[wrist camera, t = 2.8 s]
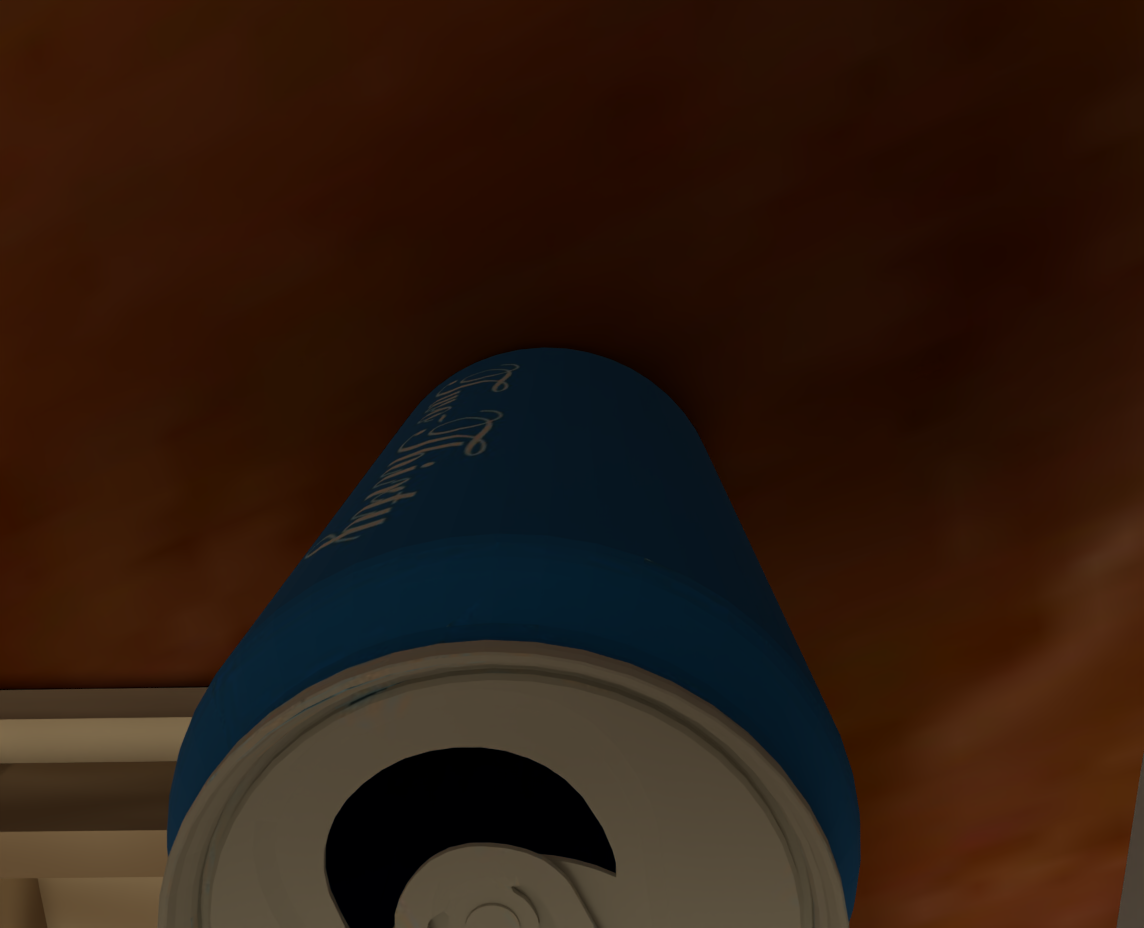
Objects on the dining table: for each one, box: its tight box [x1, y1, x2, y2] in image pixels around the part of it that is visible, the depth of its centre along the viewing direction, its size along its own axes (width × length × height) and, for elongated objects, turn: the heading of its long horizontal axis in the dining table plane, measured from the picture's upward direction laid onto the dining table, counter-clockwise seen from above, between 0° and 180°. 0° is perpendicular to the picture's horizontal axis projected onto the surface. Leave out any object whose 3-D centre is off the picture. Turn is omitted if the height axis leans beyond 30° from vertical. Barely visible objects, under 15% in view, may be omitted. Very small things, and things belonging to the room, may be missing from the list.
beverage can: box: [157, 348, 860, 928], centre depth 14 cm, size 6×6×12 cm
